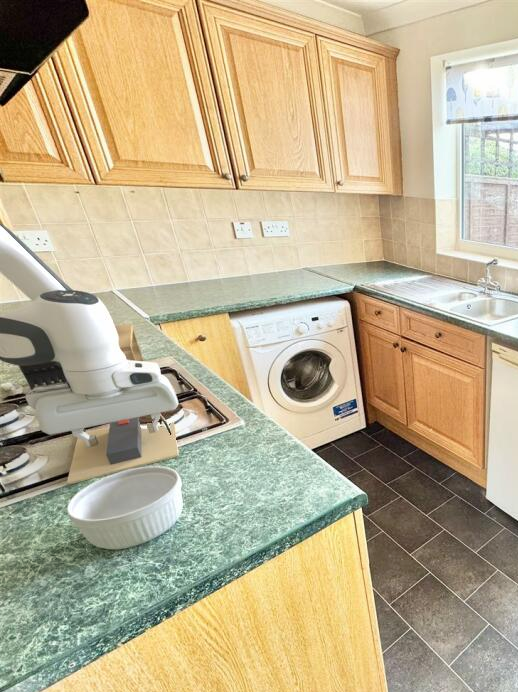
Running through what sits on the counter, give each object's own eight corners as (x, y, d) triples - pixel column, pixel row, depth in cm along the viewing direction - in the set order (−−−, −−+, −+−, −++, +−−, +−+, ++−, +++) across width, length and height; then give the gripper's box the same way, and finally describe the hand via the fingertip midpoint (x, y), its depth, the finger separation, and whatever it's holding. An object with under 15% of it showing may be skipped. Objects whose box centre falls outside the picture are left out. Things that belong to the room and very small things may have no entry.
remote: (110, 465, 80) (105, 453, 79) (113, 430, 90) (109, 419, 89) (141, 457, 82) (137, 445, 81) (141, 424, 93) (137, 414, 92)
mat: (67, 484, 75) (66, 482, 75) (79, 435, 89) (78, 433, 89) (178, 456, 84) (178, 454, 84) (173, 415, 98) (172, 413, 98)
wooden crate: (81, 400, 102) (62, 354, 97) (89, 371, 116) (72, 330, 111) (145, 389, 109) (130, 346, 104) (144, 363, 123) (131, 323, 118)
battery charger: (31, 395, 102) (10, 352, 98) (30, 390, 105) (10, 347, 100) (71, 388, 107) (53, 346, 102) (69, 383, 109) (52, 341, 105)
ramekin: (195, 489, 76) (185, 457, 73) (184, 539, 65) (172, 505, 62) (98, 510, 70) (83, 477, 67) (69, 569, 59) (50, 532, 56)
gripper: (17, 395, 72) (50, 462, 77) (167, 371, 84) (186, 430, 89) (24, 382, 76) (54, 446, 82) (166, 361, 88) (184, 418, 94)
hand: (124, 438), depth 86 cm, fingers open, 8 cm apart
